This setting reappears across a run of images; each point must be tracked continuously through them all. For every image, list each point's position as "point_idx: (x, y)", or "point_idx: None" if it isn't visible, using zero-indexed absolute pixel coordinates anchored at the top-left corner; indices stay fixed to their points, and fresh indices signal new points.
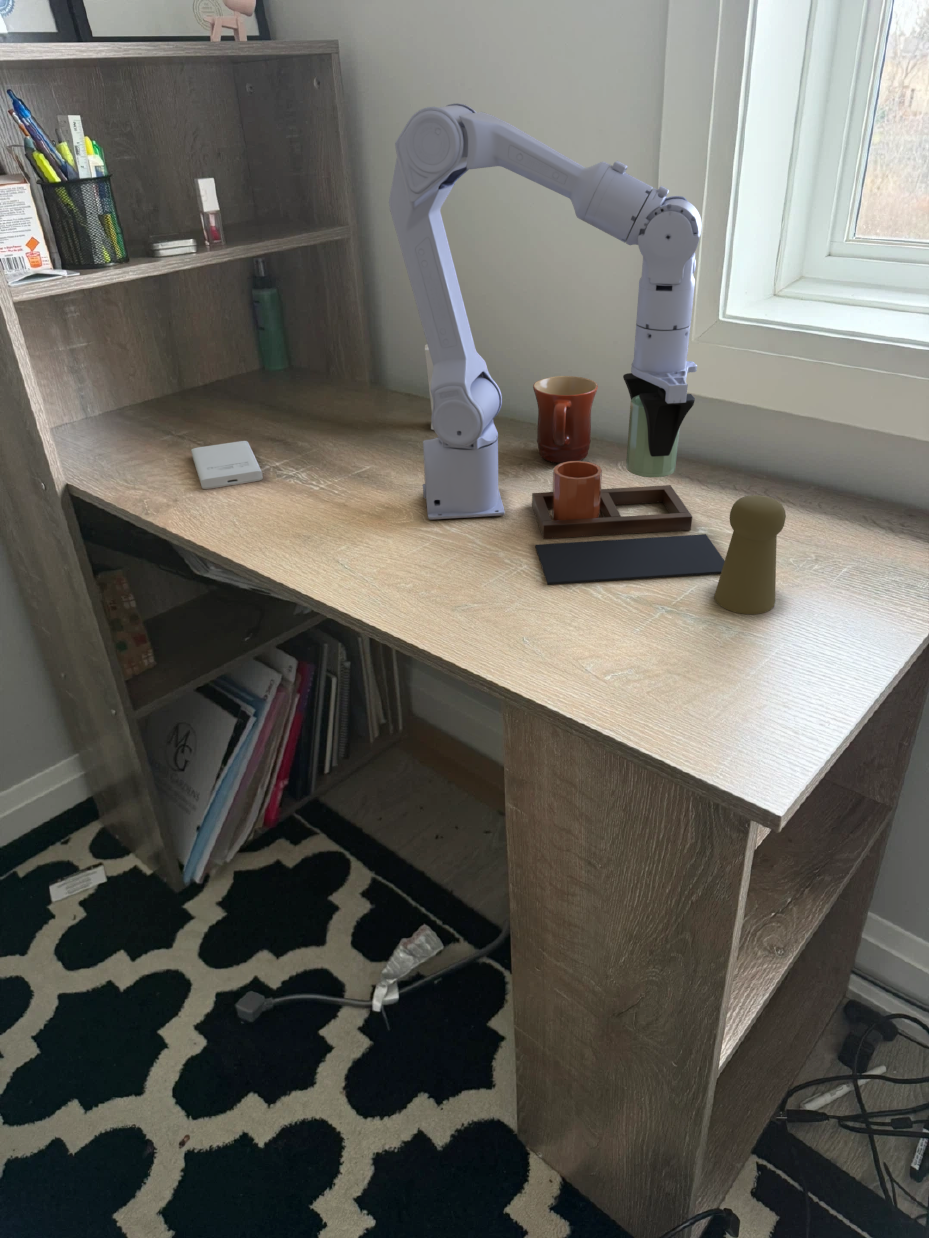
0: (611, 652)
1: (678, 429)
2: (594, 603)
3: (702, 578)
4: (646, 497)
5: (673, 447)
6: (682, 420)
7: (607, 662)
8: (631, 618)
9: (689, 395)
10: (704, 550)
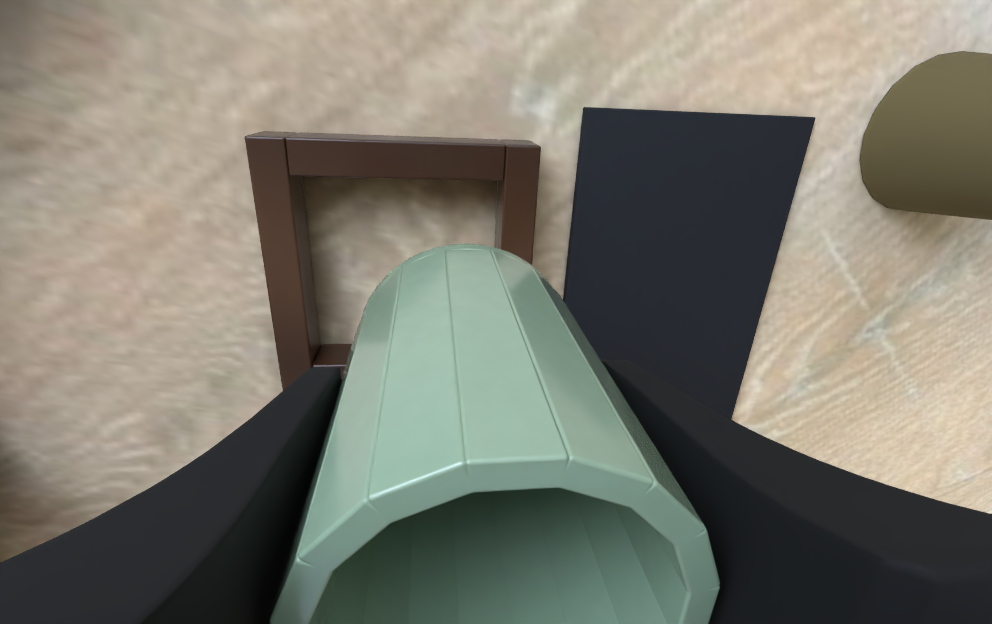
0: (947, 441)
1: (741, 427)
2: (796, 444)
3: (799, 205)
4: (302, 232)
5: (584, 338)
6: (817, 463)
7: (967, 450)
8: (874, 393)
9: (975, 600)
10: (683, 152)
